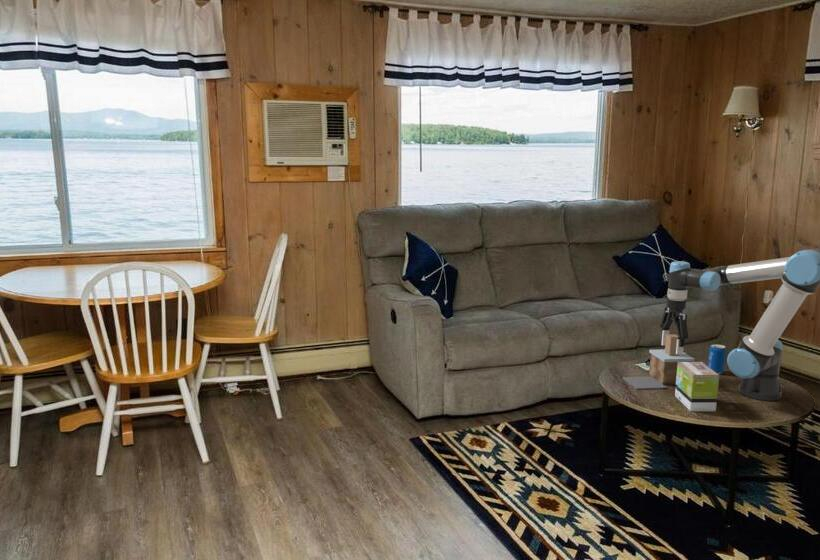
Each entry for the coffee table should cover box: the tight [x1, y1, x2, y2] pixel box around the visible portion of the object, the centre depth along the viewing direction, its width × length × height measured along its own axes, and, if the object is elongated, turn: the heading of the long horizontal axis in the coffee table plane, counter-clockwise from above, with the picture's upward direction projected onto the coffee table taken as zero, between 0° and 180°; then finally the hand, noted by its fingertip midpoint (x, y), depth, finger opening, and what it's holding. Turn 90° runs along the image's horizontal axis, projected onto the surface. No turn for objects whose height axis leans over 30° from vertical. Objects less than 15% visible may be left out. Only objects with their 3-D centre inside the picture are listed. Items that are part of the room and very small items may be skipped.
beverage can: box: [707, 343, 727, 375], centre depth 281 cm, size 6×6×12 cm
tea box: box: [674, 361, 720, 412], centre depth 245 cm, size 15×10×15 cm
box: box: [648, 353, 693, 385], centre depth 272 cm, size 12×12×10 cm
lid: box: [648, 333, 695, 362], centre depth 270 cm, size 13×13×10 cm
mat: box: [622, 375, 668, 390], centre depth 268 cm, size 13×13×1 cm
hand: (671, 349), depth 270 cm, fingers open, 11 cm apart
